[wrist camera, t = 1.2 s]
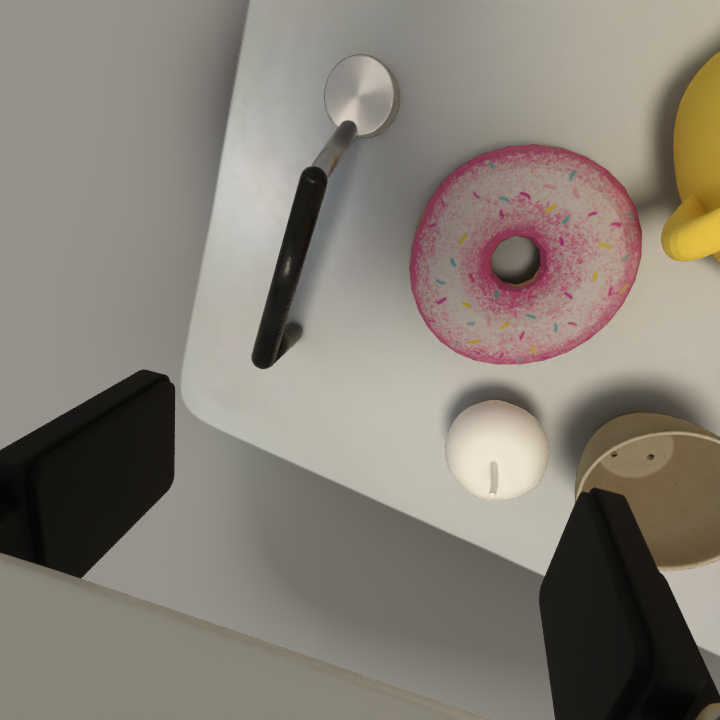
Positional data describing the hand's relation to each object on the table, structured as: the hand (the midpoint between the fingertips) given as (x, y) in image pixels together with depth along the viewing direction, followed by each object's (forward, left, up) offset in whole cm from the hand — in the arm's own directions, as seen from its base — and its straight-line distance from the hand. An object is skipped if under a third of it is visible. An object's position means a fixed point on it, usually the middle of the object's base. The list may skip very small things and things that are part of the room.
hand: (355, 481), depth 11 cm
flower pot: (+17, +9, -26) cm, 32 cm away
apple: (+13, 0, -26) cm, 29 cm away
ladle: (-6, -6, -25) cm, 27 cm away
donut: (+1, +5, -26) cm, 26 cm away
